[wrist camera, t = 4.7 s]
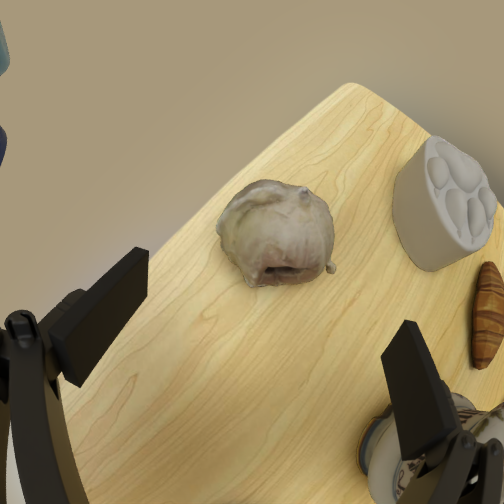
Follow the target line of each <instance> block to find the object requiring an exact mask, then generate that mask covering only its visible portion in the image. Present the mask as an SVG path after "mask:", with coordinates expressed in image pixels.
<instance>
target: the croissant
mask: <svg viewBox="0 0 504 504" xmlns="http://www.w3.org/2000/svg"><path fill="white" fill-rule="evenodd" d="M472 319H473V337H472V359H473V367H474V368H476V369H478V370H481V369H484V368H487V367H488V365H489V364H490V362H491V361H492V359H493V358H494V356H495V354H496V353H497V351H498V349H499V347H500V344H501V342H502V340H503V337H504V282H503V280H502V277H501V275H500V272H499V271H498V269H497V267H496V266H495V264H494V263H493V262H490V261H488V262H485V263H484V264H483V265H482V268H481V270H480V273H479V278H478V282H477V293H476V297H475V301H474V306H473V311H472Z"/></svg>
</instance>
